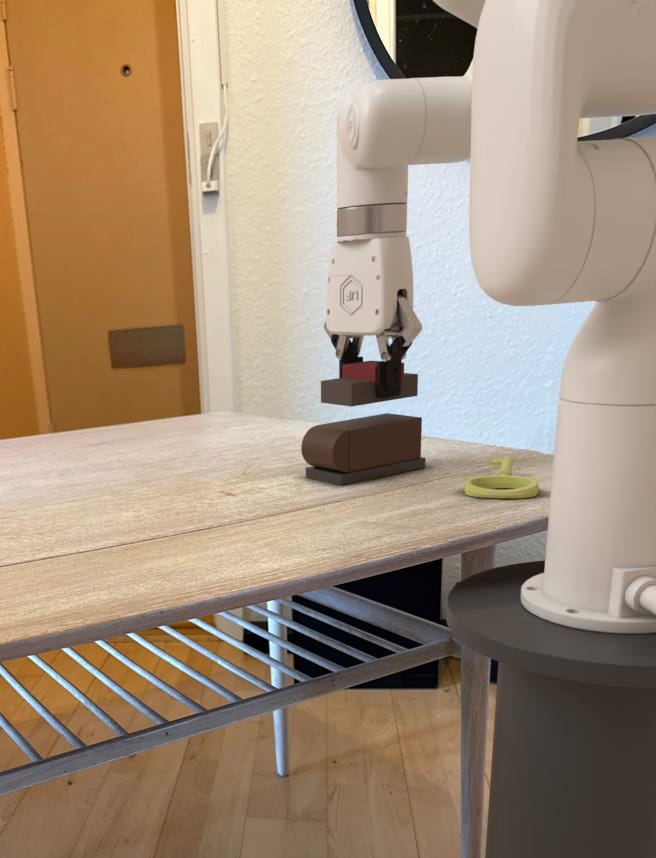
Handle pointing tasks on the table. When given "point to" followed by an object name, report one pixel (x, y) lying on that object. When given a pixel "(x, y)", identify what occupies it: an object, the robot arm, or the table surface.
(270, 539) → the table surface
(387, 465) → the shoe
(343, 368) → the two-tier step block
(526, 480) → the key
